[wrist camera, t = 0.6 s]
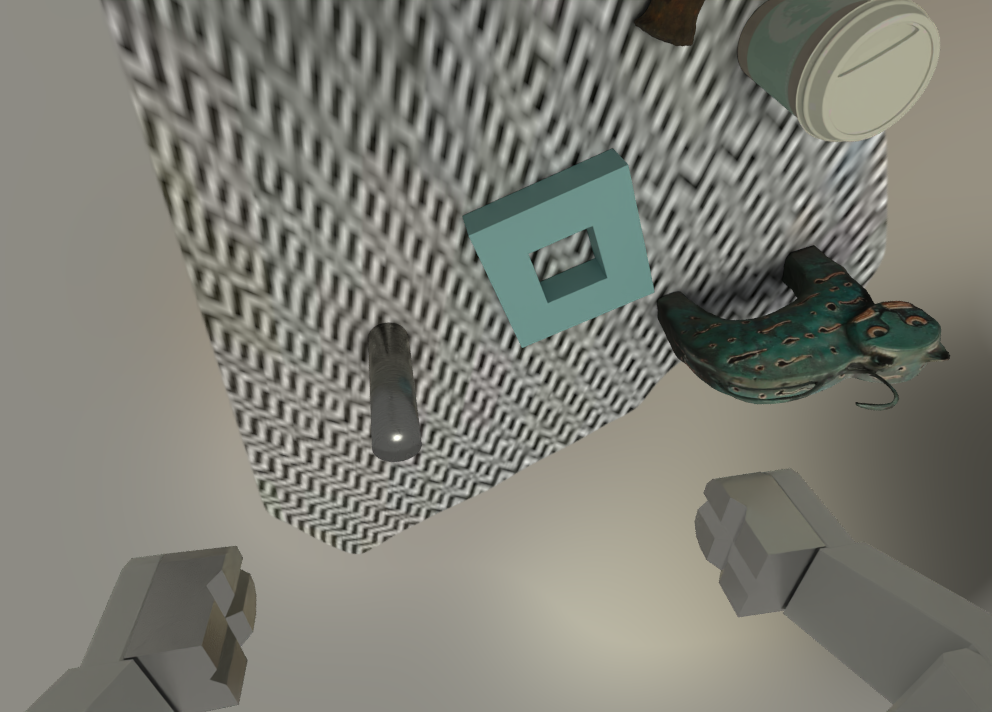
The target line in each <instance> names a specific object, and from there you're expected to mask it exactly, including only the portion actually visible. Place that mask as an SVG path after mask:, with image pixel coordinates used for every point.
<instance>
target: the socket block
mask: <svg viewBox="0 0 992 712" xmlns="http://www.w3.org/2000/svg"><path fill="white" fill-rule="evenodd" d="M463 220H464V223H465V226H466V229H467V232H468V235H469V237H470V240H471V242H472V244H473V246H474V248H475V250H476V252H477V254H478V256H479V258H480V261H481V263H482V265H483V267H484V269H485V271H486V273H487V275H488V277H489V279H490V282H491V284H492V286H493V288H494V290H495V292H496V294H497V296H498V298H499V301H500V303H501V305H502V307H503V309H504V311H505V313H506V315H507V317H508V319H509V322H510V324H511V326H512V328H513V330H514V332H515V334H516V336H517V338H518V340H519V343H520V345H521V347H522V348H523V347H525V346H528V345H530V344H532V343H535V342H537V341H539V340H542V339H544V338H547V337H549V336H551V335H554V334H556V333H559V332H561V331H563V330H566V329H568V328H571V327H573V326H575V325H578V324H580V323H582V322H585V321H587V320H590V319H592V318H594V317H597V316H599V315H602V314H604V313H606V312H609V311H611V310H613V309H616V308H618V307H621V306H623V305H625V304H628V303H630V302H633V301H635V300H637V299H640V298H642V297H645V296H647V295H649V294H652V293H654V287H653V282H652V277H651V273H650V268H649V263H648V258H647V253H646V248H645V244H644V239H643V234H642V229H641V224H640V219H639V215H638V210H637V205H636V200H635V195H634V190H633V186H632V181H631V176H630V171H629V166H628V164H627V163H626V162H625V161H624V160H623V159H622V158H621V156H620V155H619V154H618V153H617V152H616V151H615V150H614V149H613V148H612V149H610V150H608V151H606V152H604V153H601V154H599V155H597V156H595V157H592V158H590V159H588V160H586V161H584V162H581V163H579V164H577V165H575V166H572V167H570V168H568V169H566V170H564V171H561V172H559V173H557V174H555V175H552V176H550V177H548V178H546V179H544V180H541V181H539V182H537V183H535V184H532V185H530V186H528V187H526V188H524V189H521V190H519V191H517V192H515V193H512V194H510V195H508V196H506V197H504V198H501V199H499V200H497V201H495V202H492V203H490V204H488V205H486V206H484V207H481V208H479V209H477V210H475V211H473V212H470V213H468V214H466V215H464V216H463ZM586 228H587V232H588V235H589V239H590V242H591V246H592V249H593V253H594V256H595V259H592V260H590V261H588V262H585V263H583V264H581V265H578V266H576V267H574V268H572V269H569V270H567V271H565V272H562V273H560V274H558V275H555V276H553V277H551V278H548V279H546V280H544V281H541V282H539V280H538V277H537V275H536V272H535V270H534V267H533V265H532V262H531V260H530V257H529V255H528V254H529V253H531V252H534V251H536V250H538V249H541V248H543V247H545V246H547V245H550V244H552V243H554V242H557V241H559V240H561V239H564V238H566V237H568V236H570V235H573V234H575V233H577V232H580V231H582V230H584V229H586Z"/></svg>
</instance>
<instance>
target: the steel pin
mask: <svg viewBox="0 0 992 712" xmlns="http://www.w3.org/2000/svg"><path fill="white" fill-rule="evenodd" d="M368 352H369V378H370V404H371V431H372V450H373V453H374V454H375V455H376V456H377V457H378V458H380V459H382V460H384V461H389V462H399V461H404V460H407V459H410V458H412V457H413V456H415V455H416V454H417V453H418V452H419V451H420V449H421V446H422V442H421V434H420V426H419V418H418V410H417V402H416V394H415V386H414V378H413V370H412V361H411V353H410V345H409V337H408V333H407V331H406V330H405V329H404V328H403V327H402V326H400V325H398V324H395V323H383V324H380V325H377V326H376V327H374V328H373V329H372V330H371V331H370V333H369V336H368Z"/></svg>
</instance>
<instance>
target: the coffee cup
mask: <svg viewBox="0 0 992 712" xmlns="http://www.w3.org/2000/svg"><path fill="white" fill-rule="evenodd" d="M939 53H940V36H939V32H938V29H937V28H936V25H935V24H934V22H933V21H932V20H931V19H930V18H929V17H928V15H927V13H926V12H925V11H924V9H923V8H922V7H920V6H919V5H917V4H916V3H914V2H912V1H911V0H769V1H767V2H766V3H764V4H763V5H762V6H760V7H759V8H758V9H757V10H756V11H755V12H754V14H753V15H752V16H751V17H750V19H749V20H748V22H747V23H746V25H745V27H744V29H743V31H742V34H741V36H740V40H739V44H738V61H739V64H740V67H741V69H742V70H743V71H744V73H746V74H747V75H748V76H749V77H750V78H751V79H752V80H754V81H755V82H756V83H757V84H758V85H759V86H760V87H762V88H763V89H764V90H765V91H766V92H767V93H769V94H770V95H771V96H772V97H773V98H775V99H776V100H777V101H778V102H779V103H780V104H782V105H783V106H784V107H785V108H786V109H787V110H789V111H790V112H791V113H792V114H793V115H795V116H796V117H797V118H798V120H799V122H800V124H801V126H802V127H803V129H804V130H805V131H806V132H807V133H808V134H810V135H811V136H813V137H815V138H818V139H822V140H826V141H831V142H841V141H847V142H853V141H860V140H864V139H868V138H870V137H873V136H875V135H877V134H879V133H881V132H883V131H884V130H886V129H888V128H889V127H890V126H892V125H893V124H894V123H896V122H897V121H898V120H899V119H901V118H902V116H904V115H905V114H906V113H907V112H908V111H909V110H910V109H911V108H912V106H913V105H914V104H915V103H916V102H917V100H918V99H919V98H920V96H921V95H922V93H923V92H924V90H925V89H926V87H927V85H928V84H929V82H930V80H931V78H932V75H933V73H934V71H935V68H936V66H937V62H938V58H939Z"/></svg>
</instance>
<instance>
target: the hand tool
mask: <svg viewBox="0 0 992 712" xmlns="http://www.w3.org/2000/svg"><path fill="white" fill-rule="evenodd" d="M704 1H705V0H652V1H651V3H650V5H649V7H648V9H647V10H646V12H645V13H644V14H643V16H641V17H639V18H638V19H636V20H635V25H636V26H638V27H639V28H641V29H642V30H643V31H645V32H646V33H648V34H649V35H651V36H652V37H654V38H656V39H659V40H662V41H664V42H667V43H670V44H673V45H675V46H691V45H692V44H693V40H694V35H695V31H696V21H697V17H698V14H699V12H700V10H701V7H702V5H703V3H704Z"/></svg>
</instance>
